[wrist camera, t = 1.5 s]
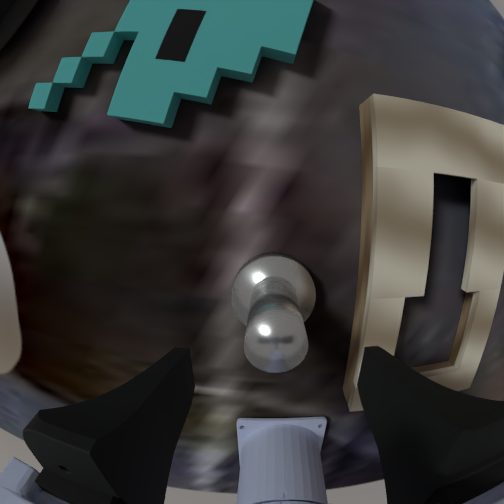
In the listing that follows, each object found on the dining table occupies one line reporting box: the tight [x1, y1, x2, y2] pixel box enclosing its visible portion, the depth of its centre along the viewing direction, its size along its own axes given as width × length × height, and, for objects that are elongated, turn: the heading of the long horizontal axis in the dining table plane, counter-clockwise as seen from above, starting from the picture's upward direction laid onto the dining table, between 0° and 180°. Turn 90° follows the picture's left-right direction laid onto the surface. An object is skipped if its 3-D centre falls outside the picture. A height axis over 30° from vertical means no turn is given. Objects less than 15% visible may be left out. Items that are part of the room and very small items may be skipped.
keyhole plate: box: [343, 94, 504, 412], centre depth 18 cm, size 22×12×3 cm, turn 1°
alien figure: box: [28, 0, 314, 128], centre depth 15 cm, size 20×2×20 cm
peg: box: [231, 252, 316, 373], centre depth 17 cm, size 6×6×8 cm
